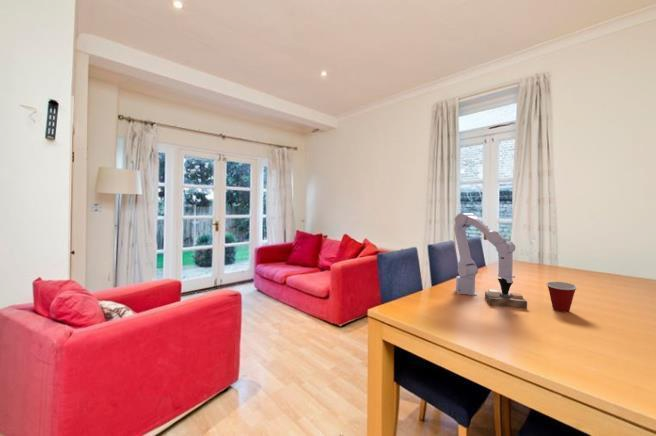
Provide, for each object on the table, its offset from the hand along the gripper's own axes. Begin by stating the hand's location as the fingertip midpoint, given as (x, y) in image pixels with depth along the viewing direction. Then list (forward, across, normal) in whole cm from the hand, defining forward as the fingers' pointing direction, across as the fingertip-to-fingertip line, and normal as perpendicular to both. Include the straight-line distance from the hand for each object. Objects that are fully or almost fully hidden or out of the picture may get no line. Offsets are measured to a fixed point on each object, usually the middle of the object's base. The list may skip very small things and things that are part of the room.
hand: (505, 293), depth 134 cm
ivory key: (+2, 0, +5) cm, 5 cm away
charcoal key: (+3, 0, 0) cm, 3 cm away
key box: (+5, 0, 0) cm, 5 cm away
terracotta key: (+3, 0, -5) cm, 6 cm away
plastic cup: (+5, -2, -22) cm, 22 cm away
